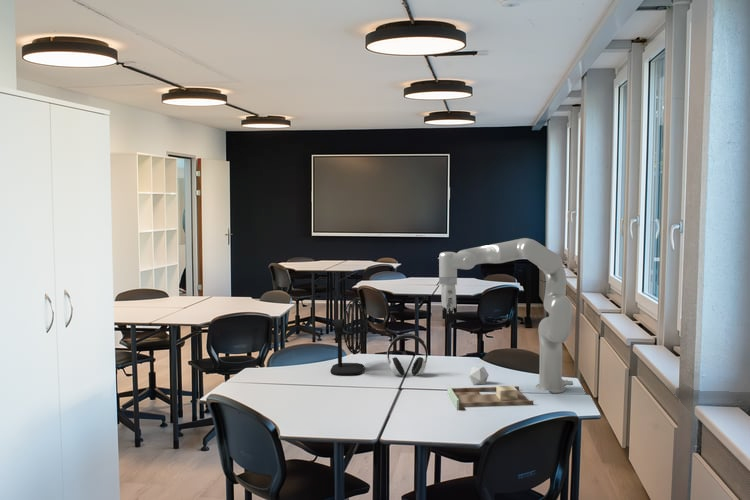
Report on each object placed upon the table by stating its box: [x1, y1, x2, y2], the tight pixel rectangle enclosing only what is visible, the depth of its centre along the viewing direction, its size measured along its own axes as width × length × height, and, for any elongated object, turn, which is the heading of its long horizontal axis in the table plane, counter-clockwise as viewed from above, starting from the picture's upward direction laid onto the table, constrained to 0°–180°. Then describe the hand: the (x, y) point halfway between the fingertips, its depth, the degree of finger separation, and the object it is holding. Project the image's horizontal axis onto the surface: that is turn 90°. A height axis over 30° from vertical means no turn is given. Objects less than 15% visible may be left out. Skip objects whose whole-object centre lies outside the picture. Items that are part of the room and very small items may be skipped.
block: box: [495, 385, 517, 400], centre depth 290 cm, size 7×7×4 cm
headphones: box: [386, 333, 429, 377], centre depth 330 cm, size 19×8×20 cm, turn 91°
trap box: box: [451, 385, 534, 411], centre depth 289 cm, size 30×22×3 cm
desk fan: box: [330, 298, 369, 376], centre depth 340 cm, size 27×18×35 cm, turn 176°
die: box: [468, 366, 489, 386], centre depth 315 cm, size 8×9×10 cm
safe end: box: [446, 384, 460, 411], centre depth 288 cm, size 1×22×4 cm, turn 4°
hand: (448, 320), depth 300 cm, fingers open, 9 cm apart
